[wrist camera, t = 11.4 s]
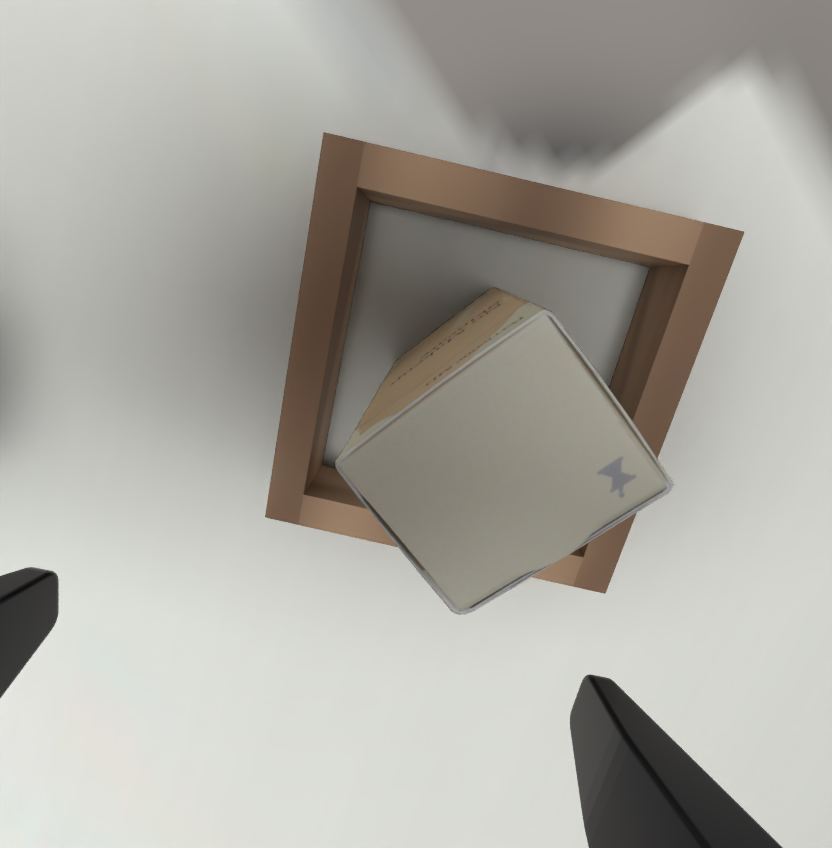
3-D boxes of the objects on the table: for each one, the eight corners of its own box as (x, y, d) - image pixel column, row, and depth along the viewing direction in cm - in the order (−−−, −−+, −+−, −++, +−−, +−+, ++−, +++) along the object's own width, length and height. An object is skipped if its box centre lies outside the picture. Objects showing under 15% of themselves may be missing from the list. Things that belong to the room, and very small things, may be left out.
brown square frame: (288, 485, 22) (265, 517, 19) (342, 155, 18) (323, 132, 15) (583, 551, 22) (605, 593, 19) (696, 239, 18) (744, 231, 15)
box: (495, 283, 19) (566, 290, 8) (558, 374, 20) (697, 486, 9) (385, 367, 20) (323, 468, 9) (450, 450, 21) (460, 629, 10)
